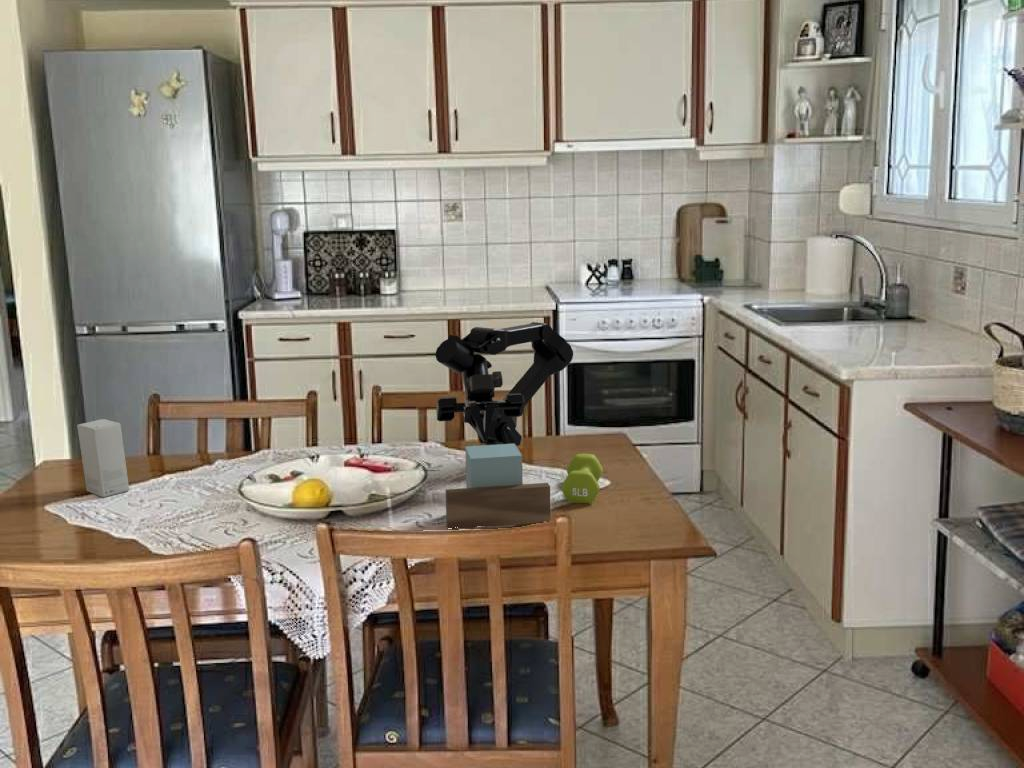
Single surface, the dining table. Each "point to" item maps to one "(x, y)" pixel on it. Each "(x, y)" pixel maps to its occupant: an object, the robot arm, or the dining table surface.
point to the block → (493, 465)
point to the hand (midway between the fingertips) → (485, 441)
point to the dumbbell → (582, 479)
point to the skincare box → (103, 457)
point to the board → (498, 505)
